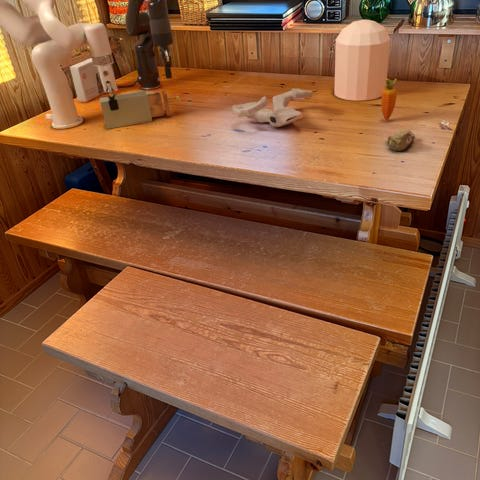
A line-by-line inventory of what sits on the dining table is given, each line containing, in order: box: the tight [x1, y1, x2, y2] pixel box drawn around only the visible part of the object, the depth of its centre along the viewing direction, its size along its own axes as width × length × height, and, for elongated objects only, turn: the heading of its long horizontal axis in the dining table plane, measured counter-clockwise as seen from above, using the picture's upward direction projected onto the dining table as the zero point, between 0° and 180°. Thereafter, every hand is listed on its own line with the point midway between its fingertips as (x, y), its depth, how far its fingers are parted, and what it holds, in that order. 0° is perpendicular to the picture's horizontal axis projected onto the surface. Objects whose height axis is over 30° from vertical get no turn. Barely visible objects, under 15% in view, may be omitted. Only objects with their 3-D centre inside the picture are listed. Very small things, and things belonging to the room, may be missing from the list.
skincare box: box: [69, 57, 105, 103], centre depth 218 cm, size 21×6×16 cm, turn 158°
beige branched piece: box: [231, 88, 314, 128], centre depth 171 cm, size 28×26×12 cm
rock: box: [387, 129, 416, 152], centre depth 146 cm, size 11×6×10 cm
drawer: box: [147, 90, 182, 118], centre depth 186 cm, size 22×5×9 cm, turn 106°
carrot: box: [380, 78, 398, 122], centre depth 161 cm, size 5×5×15 cm
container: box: [333, 19, 391, 102], centre depth 186 cm, size 21×21×28 cm
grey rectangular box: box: [99, 90, 153, 130], centre depth 184 cm, size 18×6×11 cm, turn 106°
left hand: (114, 106), depth 182 cm, fingers closed on grey rectangular box, 6 cm apart
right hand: (169, 78), depth 182 cm, fingers closed
